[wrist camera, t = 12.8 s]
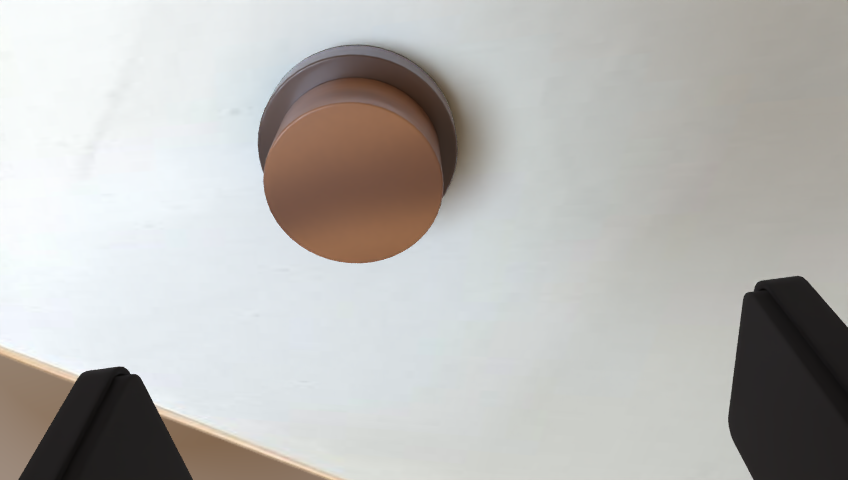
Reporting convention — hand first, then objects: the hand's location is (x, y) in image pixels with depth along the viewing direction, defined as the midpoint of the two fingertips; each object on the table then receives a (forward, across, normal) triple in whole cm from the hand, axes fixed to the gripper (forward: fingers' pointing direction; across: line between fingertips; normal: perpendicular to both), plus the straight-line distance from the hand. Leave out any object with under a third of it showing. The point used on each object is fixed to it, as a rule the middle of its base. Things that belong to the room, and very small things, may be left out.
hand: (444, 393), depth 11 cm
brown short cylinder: (+19, +3, +4) cm, 19 cm away
